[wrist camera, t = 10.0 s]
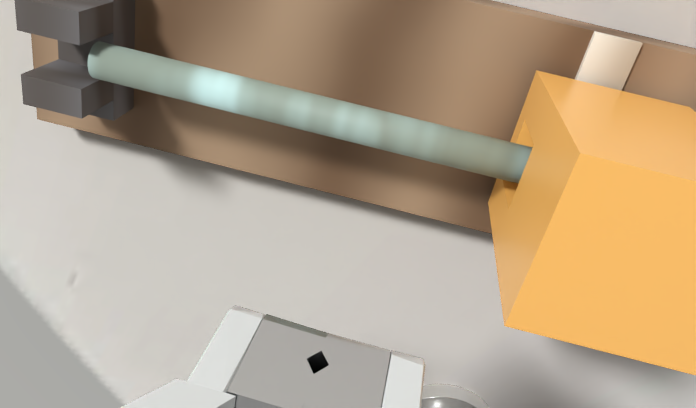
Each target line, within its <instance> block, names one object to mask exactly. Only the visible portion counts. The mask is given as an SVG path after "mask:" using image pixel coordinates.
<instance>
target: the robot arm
mask: <svg viewBox="0 0 696 408" xmlns="http://www.w3.org/2000/svg"><path fill="white" fill-rule="evenodd" d="M424 371H425V362H424V360H423V359H422V358H419V357H415V356H411V355H407V354H404V353H400V352H396V351H392V350H391V352H390V350H387V349H384V348H380V347H376V346H373V345H369V344H366V343H362V342H358V341H355V340H351V339H347V338H344V337H340V336H337V335H333V334H329V333H325V332H322V331H319V330H316V329H313V328H309V327H306V326H303V325H300V324H297V323H293V322H290V321H287V320H284V319H281V318H277V317H274V316H271V315H268V314H266V315H265V314H262V313H259V312H256V311H252V310H249V309H246V308H243V307H240V306H237V305H235V306H233V307H232V308H231V309H230V310H229V311H228V312H227V314H226V316H225V317H224V319H223V321H222V322H221V324H220V326H219V328H218V329H217V331H216V333H215V334H214V336H213V338H212V339H211V341H210V343H209V344H208V346H207V348H206V349H205V351H204V353H203V355H202V356H201V358H200V360H199V361H198V363H197V365H196V366H195V368H194V370H193V371H192V373H191V375H190V376H189V378H188V380H187V381H185V380H181V379H175V380H173V381H171V382H169V383H167V384H165V385H163V386H161V387H159V388H157V389H155V390H153V391H151V392H149V393H147V394H145V395H143V396H141V397H139V398H137V399H136V400H134V401H132V402H130V403H128V404H126V405H124V406H122V407H120V408H421V403H422V392H423V381H424Z"/></svg>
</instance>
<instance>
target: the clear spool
mask: <svg viewBox="0 0 696 408" xmlns="http://www.w3.org/2000/svg"><path fill="white" fill-rule="evenodd" d="M421 408H490V407H489V406H488V404H487V403H486V402H485V401H484V400H483V399H482V398H481V397H479V396H478V395H477V394H475V393H473V392H472V391H470V390H467V389H465V388H462V387H459V386H455V385H450V384H430V385H425V386H423V392H422V403H421Z"/></svg>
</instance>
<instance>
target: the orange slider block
mask: <svg viewBox="0 0 696 408" xmlns="http://www.w3.org/2000/svg"><path fill="white" fill-rule="evenodd" d="M510 142H513V143H517V144H521V145H525V146H529V147H533V148H532V151H531V153H530V156H529V158H528V161H527V163H526V166H525V168H524V171H523V174H522V176H521V179H520V181H519V184H518V183H514V182H510V181H506V180H502V179H498V178H497V179H496V182H495V185H494V187H493V190H492V193H491V195H490V198H489V201H488V206H489V214H490V221H491V228H492V236H493V243H494V251H495V258H496V266H497V273H498V281H499V288H500V296H501V303H502V311H503V318H504V326H507V327H511V328H515V329H518V330H522V331H526V332H530V333H534V334H538V335H542V336H545V337H549V338H553V339H557V340H561V341H565V342H569V343H573V344H576V345H580V346H584V347H588V348H592V349H596V350H600V351H604V352H607V353H611V354H615V355H619V356H623V357H627V358H631V359H634V360H638V361H642V362H646V363H650V364H654V365H658V366H662V367H665V368H669V369H673V370H677V371H681V372H685V373H689V374H692V375H696V112H695V111H694V110H693V109H691V108H690V107H687V106H683V105H679V104H675V103H671V102H667V101H662V100H658V99H654V98H650V97H646V96H642V95H637V94H633V93H629V92H625V91H621V90H617V89H612V88H608V87H604V86H600V85H596V84H591V83H587V82H583V81H579V80H575V79H571V78H566V77H562V76H558V75H554V74H550V73H546V72H541V71H537V70H536V73H535V76H534V78H533V81H532V84H531V86H530V89H529V92H528V95H527V97H526V100H525V103H524V106H523V108H522V111H521V114H520V116H519V119H518V122H517V125H516V127H515V130H514V133H513V135H512V138H511V141H510Z"/></svg>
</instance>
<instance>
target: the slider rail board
mask: <svg viewBox="0 0 696 408" xmlns="http://www.w3.org/2000/svg"><path fill="white" fill-rule="evenodd" d="M15 9H16V21H17V30H19V31H23V32H27V33H31V38H32V52H33V66H34V69H33V70H31V71H28V72H26V73H23V74H21V81H22V93H23V104H25V105H29V106H33V107H37V119H39V120H43V121H47V122H51V123H55V124H59V125H63V126H67V127H71V128H75V129H78V130H82V131H86V132H90V133H94V134H98V135H102V136H106V137H110V138H114V139H118V140H122V141H126V142H130V143H134V144H138V145H142V146H146V147H150V148H154V149H158V150H162V151H166V152H170V153H174V154H178V155H182V156H186V157H190V158H193V159H197V160H201V161H205V162H209V163H213V164H217V165H221V166H225V167H229V168H233V169H237V170H241V171H245V172H249V173H253V174H257V175H261V176H265V177H269V178H273V179H277V180H281V181H285V182H289V183H293V184H297V185H301V186H305V187H308V188H312V189H316V190H320V191H324V192H328V193H332V194H336V195H340V196H344V197H348V198H352V199H356V200H360V201H364V202H368V203H372V204H376V205H380V206H384V207H388V208H392V209H396V210H400V211H404V212H408V213H412V214H416V215H420V216H423V217H427V218H431V219H435V220H439V221H443V222H447V223H451V224H455V225H459V226H463V227H467V228H471V229H475V230H479V231H483V232H487V233H491V234H492V228H491V221H490V214H489V206H488V201H489V198H490V195H491V193H492V190H493V187H494V185H495V182H496V179H497V178H498V179H502V180H506V181H510V182H514V183H518V184H519V181H520V179H521V176H522V174H523V171H524V168H525V166H526V163H527V161H528V158H529V156H530V153H531V151H532V148H533V147H529V146H525V145H521V144H517V143H513V142H510V141H511V138H512V135H513V133H514V130H515V127H516V125H517V122H518V119H519V116H520V114H521V111H522V108H523V106H524V103H525V100H526V97H527V95H528V92H529V89H530V86H531V84H532V81H533V78H534V76H535V73H536V70H537V71H541V72H546V73H550V74H554V75H558V76H562V77H566V78H571V79H575V80H579V81H583V82H587V83H591V84H596V85H600V86H604V87H608V88H612V89H617V90H621V91H625V92H629V93H633V94H637V95H642V96H646V97H650V98H654V99H658V100H662V101H667V102H671V103H675V104H679V105H683V106H687V107H690V108H691V109H693V110H694V111H695V112H696V49H695V48H691V47H687V46H683V45H678V44H674V43H670V42H666V41H661V40H657V39H653V38H649V37H644V36H640V35H636V34H632V33H627V32H623V31H619V30H615V29H610V28H606V27H602V26H598V25H593V24H589V23H585V22H581V21H576V20H572V19H568V18H564V17H559V16H555V15H551V14H547V13H542V12H538V11H534V10H530V9H525V8H521V7H517V6H513V5H509V4H504V3H500V2H496V1H492V0H15Z"/></svg>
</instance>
